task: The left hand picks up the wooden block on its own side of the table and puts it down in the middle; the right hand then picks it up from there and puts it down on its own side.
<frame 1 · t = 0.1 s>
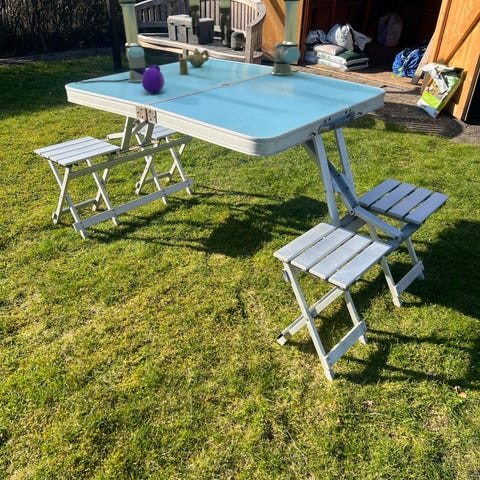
left hand: (196, 35, 349), 28 cm above the table, tool pointing down, fingers open, 13 cm apart
right hand: (225, 41, 314), 28 cm above the table, tool pointing down, fingers open, 13 cm apart
block: (184, 73, 362), on the table
tan lumpy piece: (198, 67, 388), on the table
toy: (151, 91, 308), on the table
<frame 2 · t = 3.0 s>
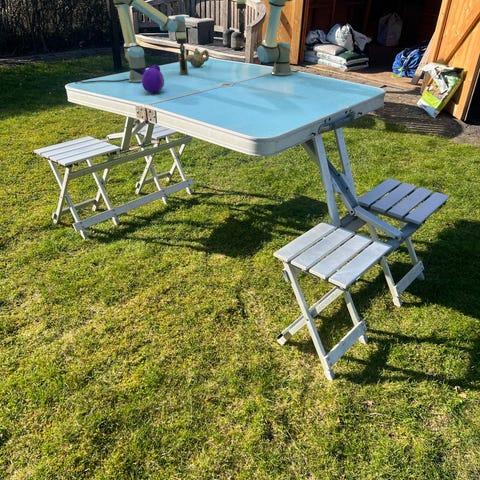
left hand: (183, 69, 360), 3 cm above the table, tool pointing down, fingers closed on block, 5 cm apart
right hand: (241, 33, 359), 28 cm above the table, tool pointing down, fingers open, 13 cm apart
block: (184, 73, 362), on the table, touching left hand
everything else where it was.
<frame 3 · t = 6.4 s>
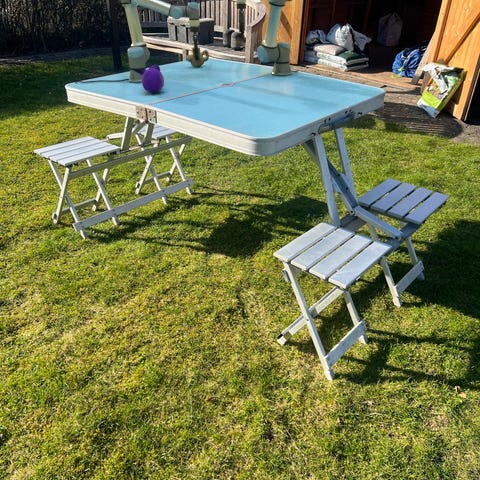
left hand: (196, 59, 343), 13 cm above the table, tool pointing down, fingers closed on block, 5 cm apart
right hand: (241, 33, 359), 28 cm above the table, tool pointing down, fingers open, 13 cm apart
block: (197, 64, 345), point 9 cm above the table, touching left hand
everything else where it was.
when the left hand's fingers open (5 cm above the table, at t = 9.9 s): block drops 1 cm, on the table.
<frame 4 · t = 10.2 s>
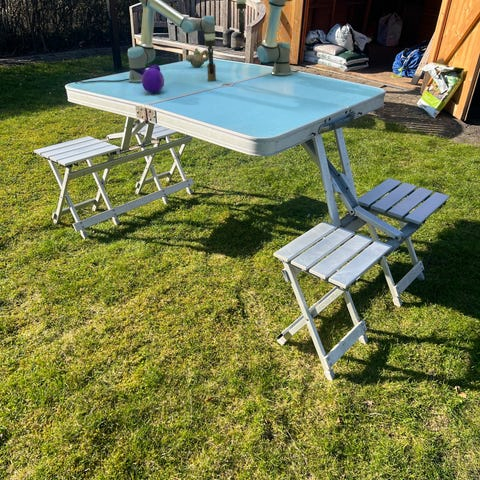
left hand: (211, 72, 334), 6 cm above the table, tool pointing down, fingers open, 9 cm apart
right hand: (241, 33, 359), 28 cm above the table, tool pointing down, fingers open, 13 cm apart
block: (211, 80, 337), on the table
everything else where it was.
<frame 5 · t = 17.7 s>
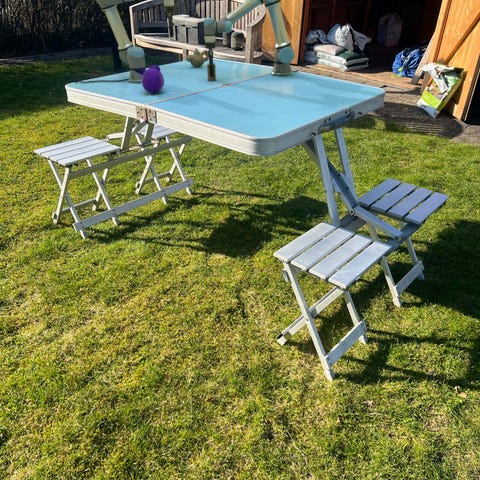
left hand: (171, 36, 353), 27 cm above the table, tool pointing down, fingers open, 13 cm apart
right hand: (211, 75, 335), 3 cm above the table, tool pointing down, fingers closed on block, 5 cm apart
block: (211, 80, 337), on the table, touching right hand
everything else where it was.
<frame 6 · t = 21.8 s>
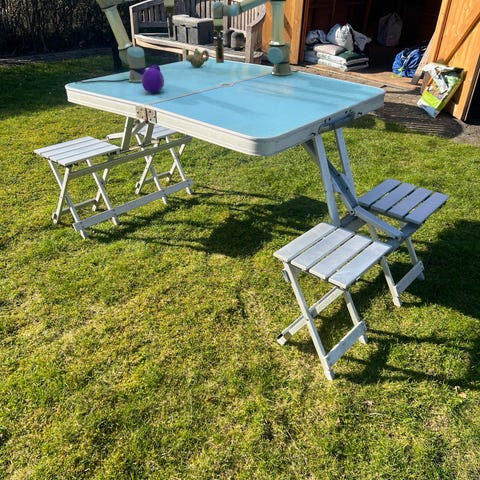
left hand: (171, 36, 353), 27 cm above the table, tool pointing down, fingers open, 13 cm apart
right hand: (219, 57, 350), 13 cm above the table, tool pointing down, fingers closed on block, 5 cm apart
block: (220, 62, 352), point 9 cm above the table, touching right hand
everything else where it was.
when the right hand's fingers open (5 cm above the table, at t = 26.3 s): block drops 1 cm, on the table.
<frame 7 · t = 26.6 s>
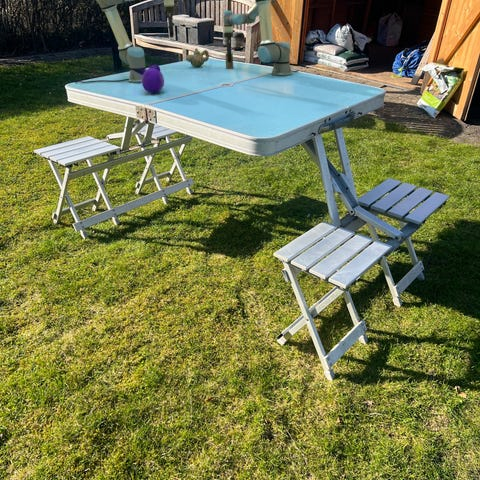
left hand: (171, 36, 353), 27 cm above the table, tool pointing down, fingers open, 13 cm apart
right hand: (229, 61, 378), 5 cm above the table, tool pointing down, fingers open, 8 cm apart
block: (229, 68, 381), on the table
everything else where it was.
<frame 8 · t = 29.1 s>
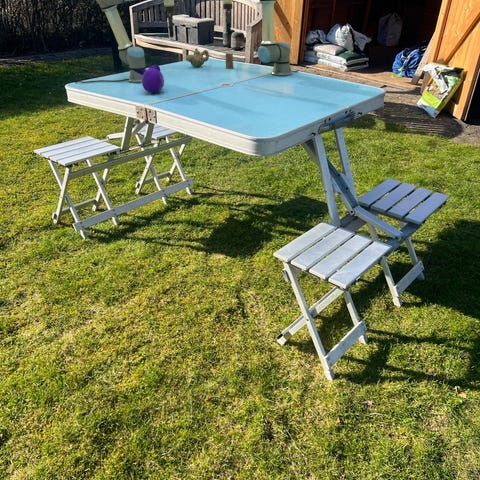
left hand: (171, 36, 353), 27 cm above the table, tool pointing down, fingers open, 13 cm apart
right hand: (228, 32, 367), 27 cm above the table, tool pointing down, fingers open, 13 cm apart
nothing on the table moved.
at the end: block inside the target area (0.1 cm from its centre), on the table; block tilted 0°; the two hands never held the block at the same time; the left hand is holding nothing; the right hand is holding nothing; block at rest at the end (0.0 cm/s) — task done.
